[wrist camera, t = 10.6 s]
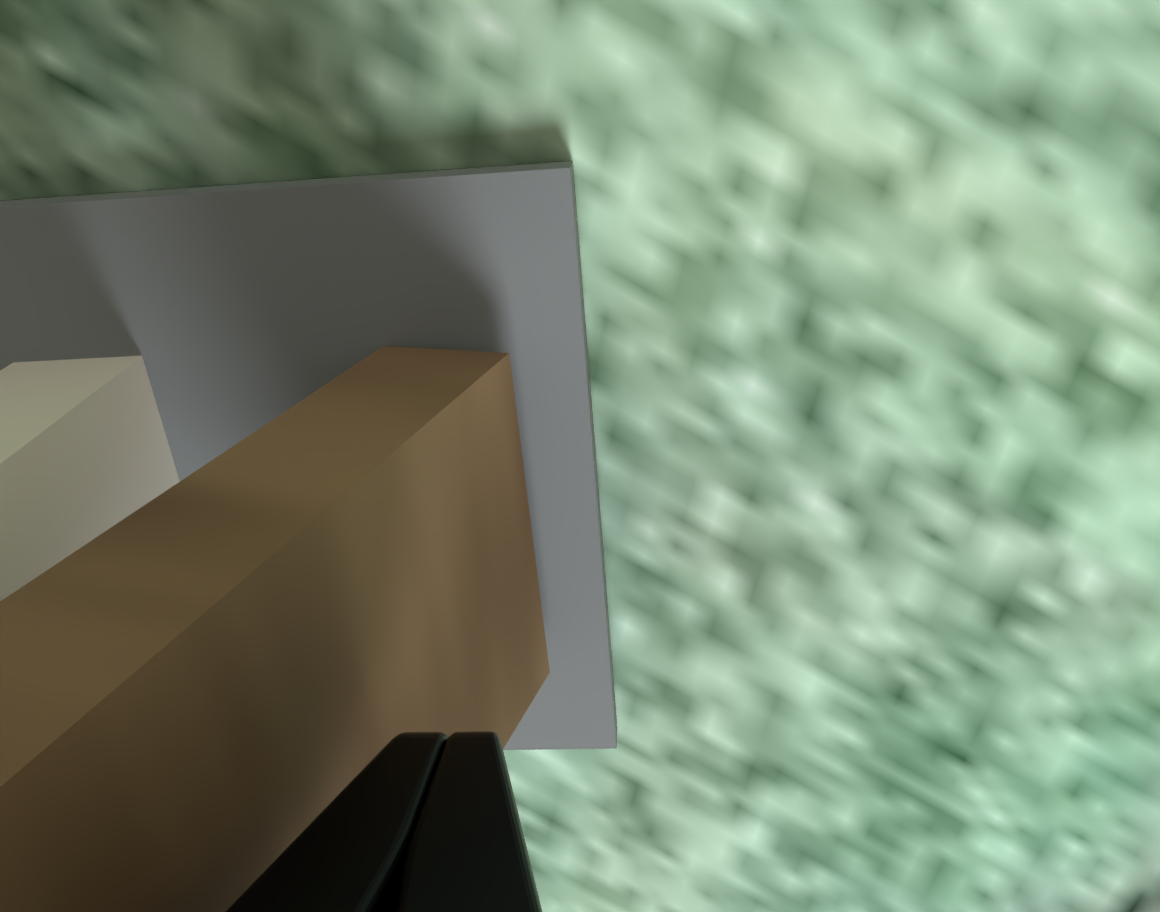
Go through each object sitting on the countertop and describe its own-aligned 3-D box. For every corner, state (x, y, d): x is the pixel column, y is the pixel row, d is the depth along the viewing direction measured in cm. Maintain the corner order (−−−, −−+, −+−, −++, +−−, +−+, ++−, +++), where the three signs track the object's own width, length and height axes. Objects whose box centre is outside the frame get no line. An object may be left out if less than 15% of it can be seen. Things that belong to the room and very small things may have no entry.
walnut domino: (549, 672, 12) (162, 1309, 7) (441, 651, 13) (-3, 1223, 7) (509, 353, 10) (-92, 865, 5) (383, 346, 11) (-288, 794, 5)
